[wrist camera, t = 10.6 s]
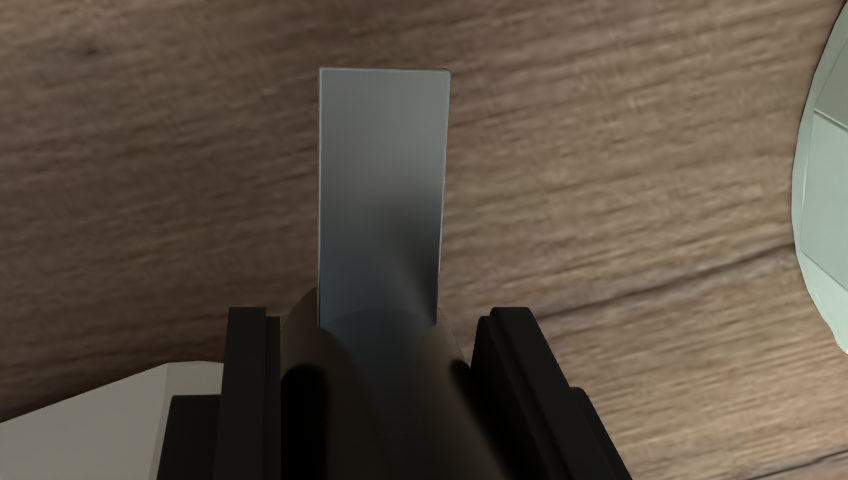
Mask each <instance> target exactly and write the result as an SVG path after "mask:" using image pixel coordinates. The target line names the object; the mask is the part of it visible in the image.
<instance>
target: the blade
mask: <svg viewBox="0 0 848 480" xmlns="http://www.w3.org/2000/svg"><path fill="white" fill-rule="evenodd" d="M450 83H451V71H450V70H448V69H446V68H422V67H388V66H353V65H319V66H318V185H317V287H315V288H313V289H312V290H311V291H309V292H308V293H307V294H306V295H305V296H303V297H302V298H301V300H300V301H299V302H298V303H297V304H296V305H295V306H294V308H293V309H292V310H291V312H290V313H289V315H288V317H287V318H286V320H285V322H284V324H283V327H282V330H281V332H280V378H281V480H525V478H524V476H523V474H522V472H521V470H520V468H519V466H518V464H517V462H516V460H515V458H514V456H513V454H512V452H511V450H510V448H509V446H508V444H507V442H506V440H505V438H504V436H503V434H502V432H501V430H500V428H499V426H498V424H497V422H496V420H495V418H494V416H493V414H492V412H491V410H490V408H489V406H488V404H487V402H486V400H485V398H484V396H483V394H482V392H481V390H480V388H479V386H478V384H477V382H476V380H475V378H474V376H473V374H472V372H471V370H470V368H469V366H468V364H467V362H466V360H465V358H464V356H463V354H462V352H461V350H460V348H459V346H458V343H457V341H456V339H455V337H454V335H453V333H452V331H451V329H450V327H449V325H448V323H447V321H446V319H445V317H444V315H443V313H442V311H441V310H440V308H439V307H438V295H439V277H440V260H441V242H442V224H443V207H444V189H445V171H446V154H447V136H448V118H449V101H450Z"/></svg>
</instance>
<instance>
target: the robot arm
mask: <svg viewBox="0 0 848 480" xmlns="http://www.w3.org/2000/svg"><path fill="white" fill-rule="evenodd" d="M470 370H471V372H472V374H473V376H474V378H475V380H476V382H477V384H478V386H479V388H480V390H481V392H482V394H483V396H484V398H485V400H486V402H487V404H488V406H489V408H490V410H491V412H492V414H493V416H494V418H495V420H496V422H497V424H498V426H499V428H500V430H501V432H502V434H503V436H504V438H505V440H506V442H507V444H508V446H509V448H510V450H511V452H512V454H513V456H514V458H515V460H516V462H517V464H518V466H519V468H520V470H521V472H522V474H523V476H524V478H525V480H632V478H631V476H630V474H629V472H628V471H627V469H626V467H625V465H624V463H623V461H622V459H621V457H620V456H619V454H618V452H617V450H616V448H615V446H614V444H613V442H612V441H611V439H610V437H609V435H608V433H607V431H606V429H605V427H604V426H603V424H602V422H601V420H600V418H599V416H598V414H597V412H596V411H595V409H594V407H593V405H592V403H591V401H590V399H589V397H588V396H587V394H586V393H585V392H584V390H583V389H581V388H579V387H570V386H569V384H568V382H567V381H566V379H565V377H564V375H563V373H562V371H561V369H560V367H559V365H558V363H557V361H556V359H555V357H554V355H553V353H552V351H551V349H550V347H549V345H548V343H547V341H546V339H545V337H544V335H543V334H542V332H541V330H540V328H539V326H538V324H537V322H536V320H535V318H534V316H533V314H532V312H531V310H530V309H529V308H527V307H494V308H492V310H491V312H490V315H489V316H481V317H480V318H479V321H478V325H477V331H476V338H475V344H474V350H473V356H472V362H471V368H470ZM156 480H281V378H280V316H266V307H229V314H228V324H227V335H226V345H225V355H224V366H223V376H222V386H221V394H207V395H173V396H172V398H171V402H170V407H169V412H168V418H167V423H166V429H165V434H164V440H163V446H162V451H161V457H160V462H159V468H158V473H157V479H156Z"/></svg>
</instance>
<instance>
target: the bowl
mask: <svg viewBox="0 0 848 480" xmlns="http://www.w3.org/2000/svg"><path fill="white" fill-rule="evenodd" d="M791 217H792V225H793V233H794V240H795V248H796V255H797V258H798V261H799V265H800V268H801V271H802V274H803V278H804V281H805V284H806V287H807V290H808V292H809V294H810V295H811V297H812V299H813V301H814V303H815V305H816V307H817V309H818V311H819V313H820V314H821V316H822V318H823V319H824V320H825V322H826V323H827V324H828V325H829V327H830V328H831V329H832V332H833V334H834V337H835V339H836V342H837V344H838V345H839V346H840V347H841V349H842V350H843V351H844V352H845V353H846V354H847V355H848V0H847V2H846V4H845V6H844V7H843V9H842V11H841V13H840V15H839V17H838V19H837V21H836V23H835V25H834V28H833V30H832V33H831V35H830V37H829V40H828V42H827V45H826V47H825V50H824V52H823V55H822V57H821V60H820V62H819V65H818V67H817V69H816V72H815V74H814V77H813V81H812V84H811V88H810V91H809V95H808V98H807V102H806V105H805V109H804V112H803V116H802V120H801V123H800V127H799V133H798V140H797V146H796V152H795V159H794V165H793V171H792V206H791Z"/></svg>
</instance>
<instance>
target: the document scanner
mask: <svg viewBox="0 0 848 480" xmlns="http://www.w3.org/2000/svg"><path fill="white" fill-rule="evenodd" d="M223 366H224V363H215V362H206V361H190V362H175V363H166V364H163V365H160V366H158V367H155V368H152V369H149V370H147V371H144V372H141V373H138V374H135V375H133V376H130V377H127V378H124V379H122V380H119V381H116V382H113V383H111V384H108V385H105V386H102V387H99V388H97V389H94V390H91V391H88V392H86V393H83V394H80V395H77V396H75V397H72V398H69V399H66V400H63V401H61V402H58V403H55V404H52V405H50V406H47V407H44V408H41V409H39V410H36V411H33V412H30V413H27V414H25V415H22V416H19V417H16V418H14V419H11V420H8V421H5V422H3V423H0V480H156V479H157V473H158V468H159V462H160V457H161V451H162V446H163V440H164V434H165V429H166V423H167V418H168V412H169V407H170V402H171V398H172V396H173V395H207V394H221V386H222V376H223Z"/></svg>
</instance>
